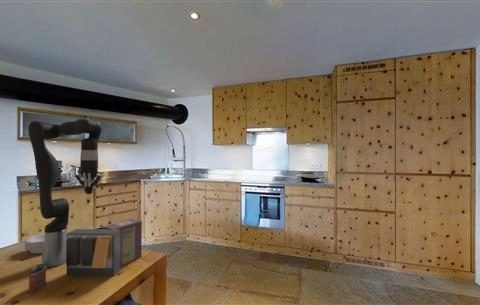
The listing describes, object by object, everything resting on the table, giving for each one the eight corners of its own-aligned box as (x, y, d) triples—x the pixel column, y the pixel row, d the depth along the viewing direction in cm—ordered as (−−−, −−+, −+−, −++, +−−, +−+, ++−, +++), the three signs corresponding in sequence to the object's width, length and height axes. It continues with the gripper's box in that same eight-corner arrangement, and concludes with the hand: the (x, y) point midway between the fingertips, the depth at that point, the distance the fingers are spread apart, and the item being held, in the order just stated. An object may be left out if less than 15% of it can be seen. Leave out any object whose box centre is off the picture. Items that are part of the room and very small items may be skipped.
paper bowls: (18, 253, 135) (18, 239, 135) (48, 244, 149) (49, 231, 150) (34, 258, 130) (34, 243, 130) (64, 248, 144) (64, 234, 144)
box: (113, 270, 117) (113, 229, 117) (101, 266, 121) (102, 226, 121) (141, 257, 132) (141, 221, 132) (130, 253, 136) (130, 218, 136)
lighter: (40, 283, 105) (40, 260, 105) (48, 282, 105) (48, 260, 105) (25, 294, 97) (25, 269, 97) (34, 293, 97) (34, 269, 97)
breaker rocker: (91, 267, 104) (96, 238, 108) (94, 267, 107) (100, 238, 111) (102, 267, 104) (107, 238, 108) (106, 267, 107) (110, 238, 111)
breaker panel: (62, 278, 108) (63, 234, 109) (75, 269, 117) (75, 229, 117) (111, 279, 109) (111, 235, 109) (120, 270, 117) (120, 229, 117)
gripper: (106, 159, 123) (106, 192, 123) (81, 159, 123) (80, 192, 123) (98, 159, 116) (97, 195, 115) (70, 159, 115) (70, 195, 115)
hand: (88, 193), depth 119 cm, fingers closed
